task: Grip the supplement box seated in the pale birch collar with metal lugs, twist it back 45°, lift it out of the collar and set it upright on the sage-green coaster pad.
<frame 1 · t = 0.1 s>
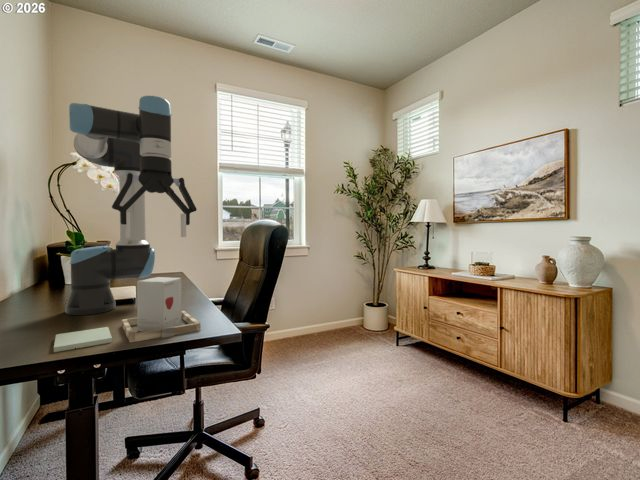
hand: (157, 237, 89), 28 cm above the table, tool pointing down, fingers open, 13 cm apart
birch collar: (160, 327, 100), on the table
coaster pad: (83, 340, 89), on the table
supplement box: (160, 328, 100), resting in birch collar
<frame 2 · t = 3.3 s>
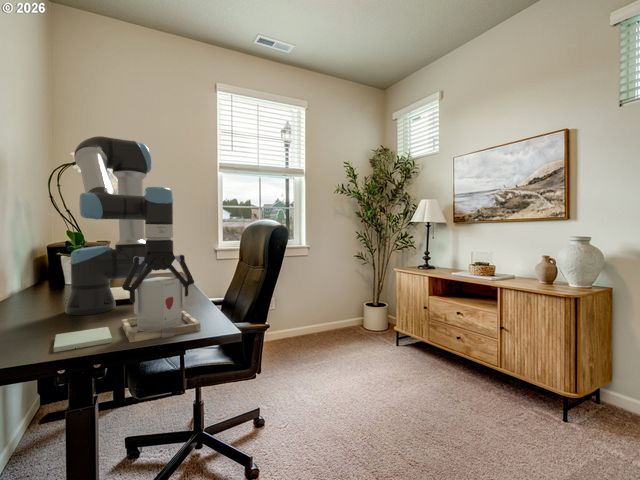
hand: (160, 310, 100), 5 cm above the table, tool pointing down, fingers closed on supplement box, 12 cm apart
supplement box: (160, 328, 100), resting in birch collar, touching gripper
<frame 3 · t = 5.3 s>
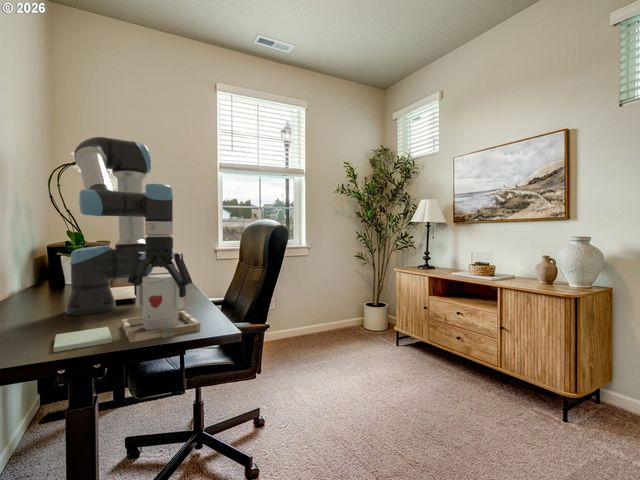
hand: (160, 307, 100), 6 cm above the table, tool pointing down, fingers closed on supplement box, 12 cm apart
supplement box: (160, 325, 100), point 1 cm above the table, touching gripper
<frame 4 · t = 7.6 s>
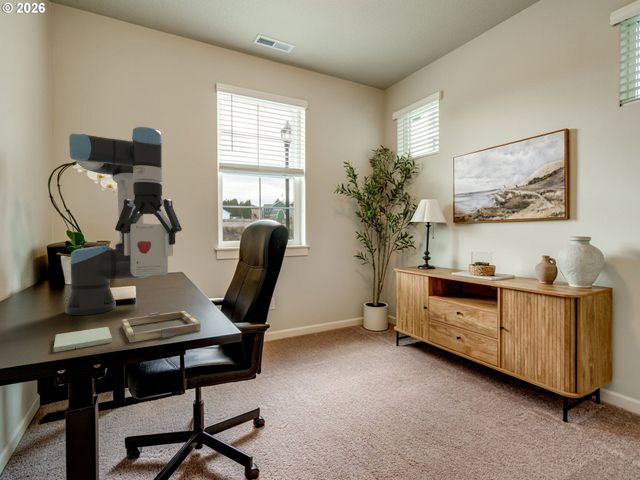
hand: (148, 255, 98), 22 cm above the table, tool pointing down, fingers closed on supplement box, 12 cm apart
supplement box: (149, 274, 98), point 16 cm above the table, touching gripper
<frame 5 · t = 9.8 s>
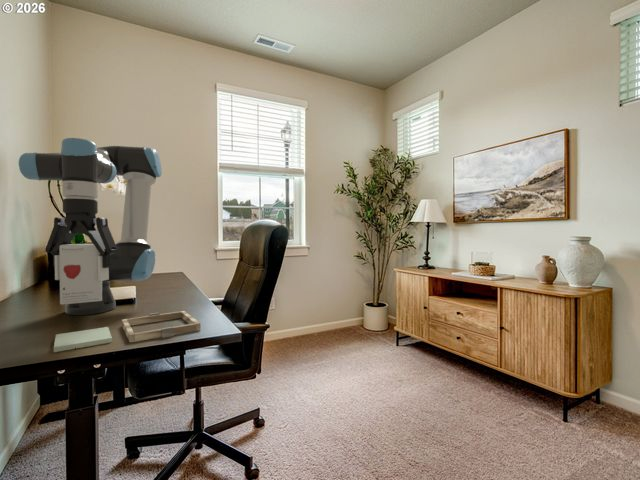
hand: (82, 279, 88), 16 cm above the table, tool pointing down, fingers closed on supplement box, 12 cm apart
supplement box: (82, 300, 88), point 11 cm above the table, touching gripper
when the fingers open (8 cm above the table, at t = 11.9 s): supplement box drops 1 cm, resting on coaster pad.
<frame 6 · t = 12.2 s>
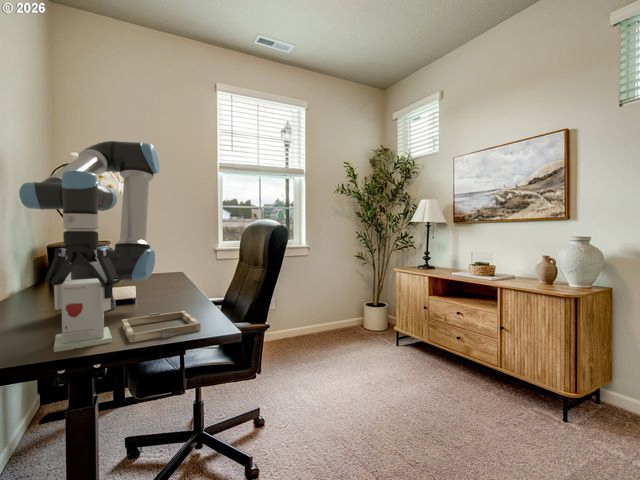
hand: (82, 309, 88), 8 cm above the table, tool pointing down, fingers open, 13 cm apart
supplement box: (84, 336, 89), point 1 cm above the table, touching coaster pad
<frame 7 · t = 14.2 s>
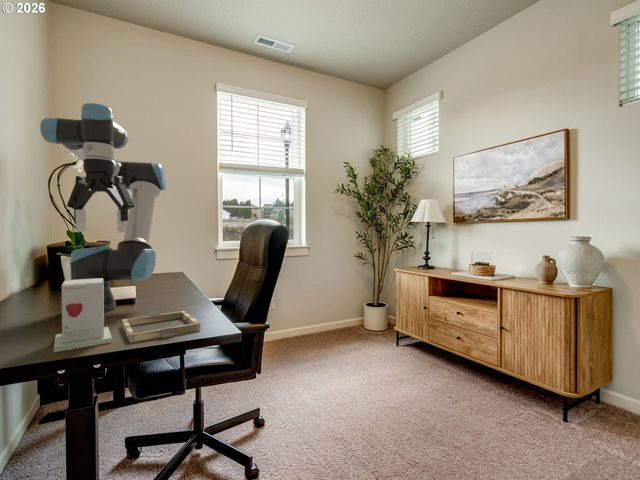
hand: (101, 232, 98), 29 cm above the table, tool pointing down, fingers open, 13 cm apart
nothing on the table moved.
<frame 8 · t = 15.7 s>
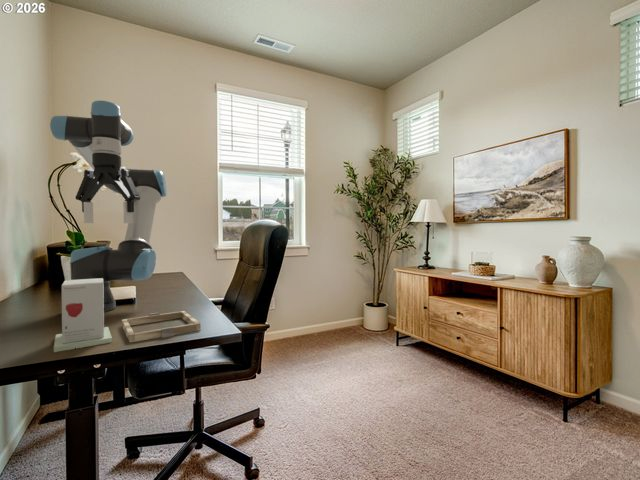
hand: (108, 223, 102), 32 cm above the table, tool pointing down, fingers open, 13 cm apart
nothing on the table moved.
at the end: supplement box inside the target area on the coaster pad (0.3 cm from its centre), point 1.0 cm above the coaster pad's base; supplement box tilted 0°; the gripper is holding nothing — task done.
